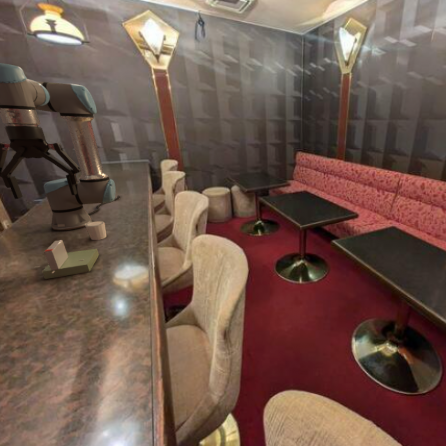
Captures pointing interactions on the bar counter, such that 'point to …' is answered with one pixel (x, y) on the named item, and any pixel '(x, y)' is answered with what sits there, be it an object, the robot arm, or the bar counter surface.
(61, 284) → the bar counter surface
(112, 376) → the bar counter surface
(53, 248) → the white flat box
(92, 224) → the white cylinder
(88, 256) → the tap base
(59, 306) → the bar counter surface
